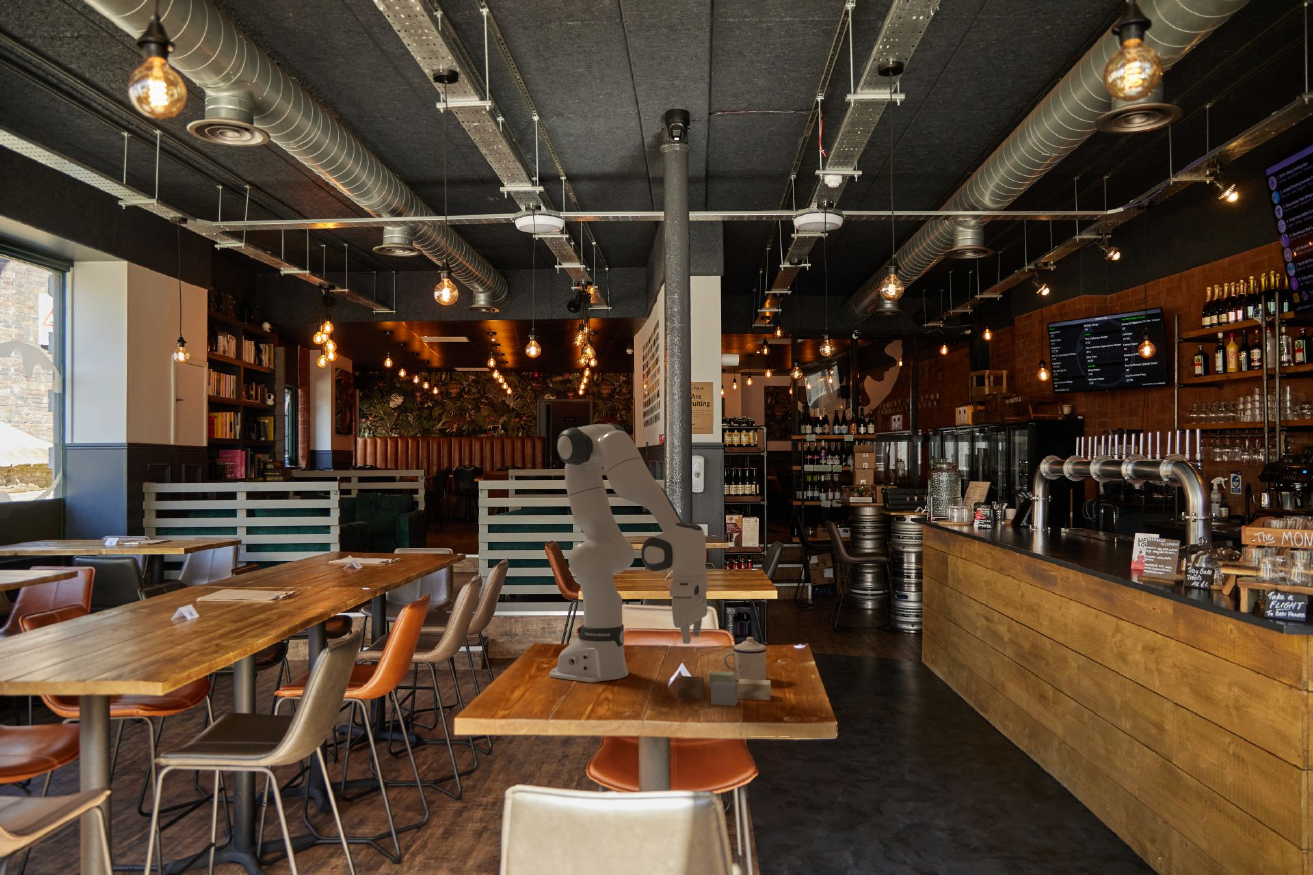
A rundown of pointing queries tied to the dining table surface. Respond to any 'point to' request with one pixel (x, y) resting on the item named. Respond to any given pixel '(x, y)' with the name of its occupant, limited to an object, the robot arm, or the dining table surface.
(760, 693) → the maple block
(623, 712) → the dining table surface
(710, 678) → the sage block
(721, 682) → the grey block
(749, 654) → the teacup with lid
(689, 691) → the walnut block
